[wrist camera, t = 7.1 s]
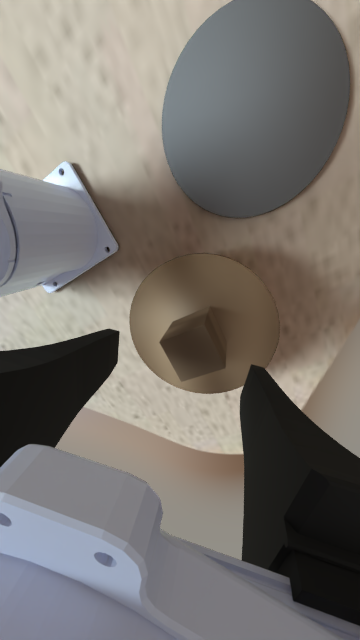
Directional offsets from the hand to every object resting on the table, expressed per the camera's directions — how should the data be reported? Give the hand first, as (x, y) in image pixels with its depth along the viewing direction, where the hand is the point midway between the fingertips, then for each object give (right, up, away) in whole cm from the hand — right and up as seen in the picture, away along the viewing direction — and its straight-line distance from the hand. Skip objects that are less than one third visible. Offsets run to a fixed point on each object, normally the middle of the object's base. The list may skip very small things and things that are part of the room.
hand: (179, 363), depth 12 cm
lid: (+2, +2, +5) cm, 6 cm away
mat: (+5, +16, +4) cm, 17 cm away
